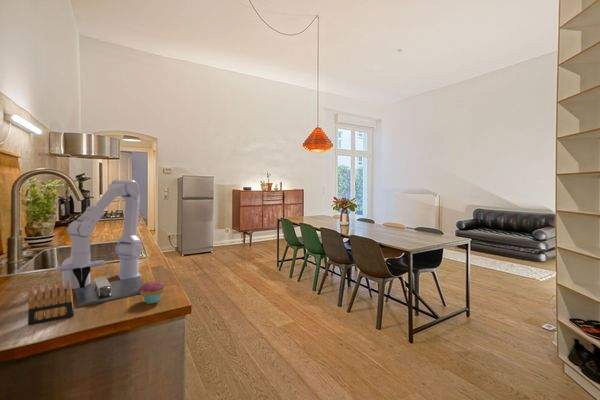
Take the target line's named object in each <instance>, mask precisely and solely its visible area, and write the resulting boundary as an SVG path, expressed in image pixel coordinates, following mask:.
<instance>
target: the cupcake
mask: <svg viewBox="0 0 600 400" xmlns="http://www.w3.org/2000/svg"><path fill="white" fill-rule="evenodd" d="M145 274H146V280H147V282H145V283H144V285H142V286H141V287H140V288H139V292H140V294H139V295H141V296H142V298H143V300H144V303H146V304H154V303H158V302H159V301H160V299H161V297H162V294H163V293H164V292H165V291H166V286H165V283H164V282H162V281H158V280H151V281H150V274H149V271H148V269H147V268H146V269H145Z"/></svg>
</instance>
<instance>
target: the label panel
mask: <svg viewBox="0 0 600 400" xmlns="http://www.w3.org/2000/svg"><path fill="white" fill-rule="evenodd" d="M109 283H110V285H111V287H112V294H111V296H108V297H103V298H102V297H100V296H99V295H98V293H97V290H96V288H95V286H94V284H91V285H87V286H85V287H84V288H75V289H74V294H75V297H76V302H77V306H78V308H81V307H85V306H90V305H94V304H95V305H96V304H99V303H103V302H109V301H112V300H119V299H122V298H126V297H131V296H135V295H141V294H140V292H139V288H140V287H141V286H142V285H144V284H145V283H144V282H143V281H142V280H141V278H140V277H134V278H129V279H123V280H121V279H119V280H114V281H113V280H112V281H109Z"/></svg>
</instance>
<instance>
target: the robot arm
mask: <svg viewBox="0 0 600 400" xmlns="http://www.w3.org/2000/svg"><path fill="white" fill-rule="evenodd" d="M107 187H108V188H107V189H106V191H105V192H104V194H103V195H102V196H101V197H100V199H99V200H98V201H97V202H96V204H94V205H93V204H92V205H90V206H87V207H86V208H85V211H84V212H83V213H82V214H81V215H80V216H79V217H77V219H76V220H74V221H72V222H71V223H69V224H68V227H67V228H66V230H67V233H68V234H69V235H70V239H71V245H70V246H71V247H70V248H71V250H70V253H71V252H72V264H67V265H62V264H61V265H56V273H57V274H58V273H62V271H69V270H73V273H74V275H75V276H76V278H77V280H78V282H79V286H80V288H84V287H85V282H86V279H87V277H88V274H89V273H90V274H91V268H95V267H105V261H106V260H105V259H101V260H100V259H99V260H92V259H91V235H92V234H93V233H94V232H95V227H96V224H97V223H98V222H99V221H100V220H101V218H103V216H105V209H106V208H107V207H108V206H110V204H112V202H113V201H115V199H117V198H118V197H121V198H122V199H123V200H124V201H125V208H124V216H123V217H124V218H123V219H124V220H123V228H122V231H123V232H122V236H121V237H119V238H118V240H117V244H116V246H115V248H114V249H115V254H116V255H117V256H118V258H119V273H117V276H118V278H119V280H123V279H129V278H134V277H139V278H140V277H142V275H141V273H140V272H139V258H140V255H141V254H142V253H143V245H142V240H141V239H140V238H139V237H138V225H139V213H140V201H141V197H140V196H141V195H140V188H141V187H140V184H139V183H138V182H137V181H136V180H134V179H127V180H126V179H114V180H112V181H111V183H110V184H108V186H107ZM66 230H65V231H66ZM81 269H82V272H81Z"/></svg>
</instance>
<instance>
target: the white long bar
mask: <svg viewBox="0 0 600 400" xmlns="http://www.w3.org/2000/svg"><path fill="white" fill-rule="evenodd" d="M109 282H110V281H109V280H108V278H107V276H106V275H105V276H104V275H103V276H98V277H93V285H94V286H95V288H96V290H97V293H98V295H99V296H100V297H102V298H103V297H108V296H111V294H112V287H111V285H110V283H109Z"/></svg>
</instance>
